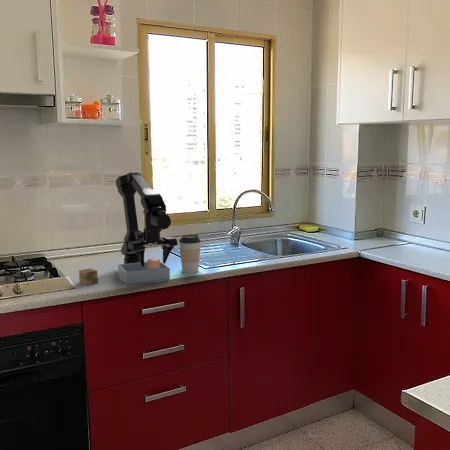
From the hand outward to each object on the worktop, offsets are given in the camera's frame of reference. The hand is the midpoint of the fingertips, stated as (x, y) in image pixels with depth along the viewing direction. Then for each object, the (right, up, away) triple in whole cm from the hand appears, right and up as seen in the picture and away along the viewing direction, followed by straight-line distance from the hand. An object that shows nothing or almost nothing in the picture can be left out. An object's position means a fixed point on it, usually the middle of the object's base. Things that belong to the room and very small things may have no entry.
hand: (153, 265), depth 198 cm
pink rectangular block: (0, -5, +1) cm, 5 cm away
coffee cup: (+13, -4, +13) cm, 19 cm away
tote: (-4, -5, +1) cm, 7 cm away
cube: (-24, -7, -5) cm, 25 cm away
